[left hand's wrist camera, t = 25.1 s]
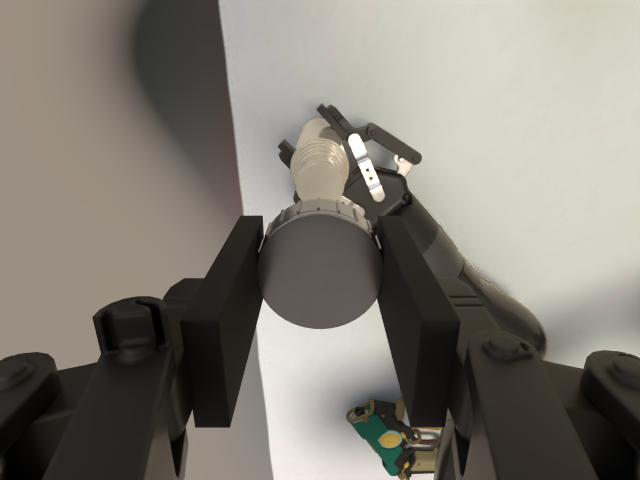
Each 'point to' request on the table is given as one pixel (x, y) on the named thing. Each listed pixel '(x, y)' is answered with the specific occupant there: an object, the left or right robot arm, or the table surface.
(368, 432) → the spray gun
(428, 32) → the table surface
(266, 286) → the cap
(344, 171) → the bottle
